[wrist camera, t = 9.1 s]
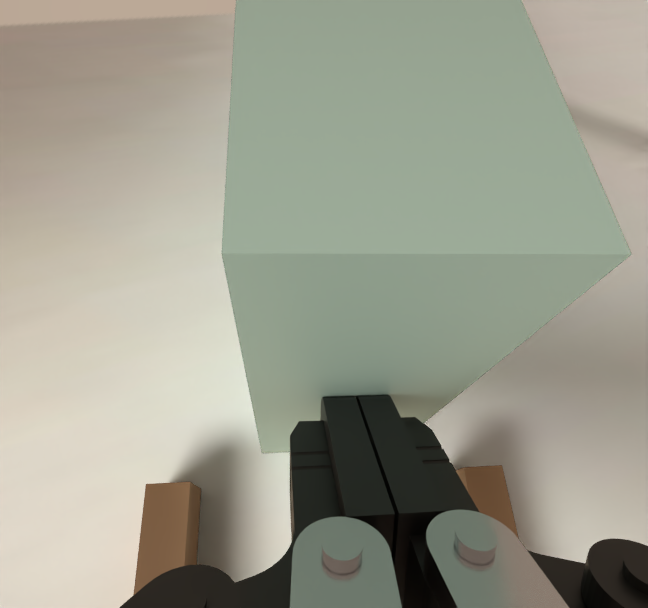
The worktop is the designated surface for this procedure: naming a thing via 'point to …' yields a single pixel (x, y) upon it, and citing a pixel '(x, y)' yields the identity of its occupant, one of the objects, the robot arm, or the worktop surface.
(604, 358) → the worktop surface
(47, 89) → the worktop surface
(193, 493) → the open frame
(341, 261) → the pale green rectangular block
